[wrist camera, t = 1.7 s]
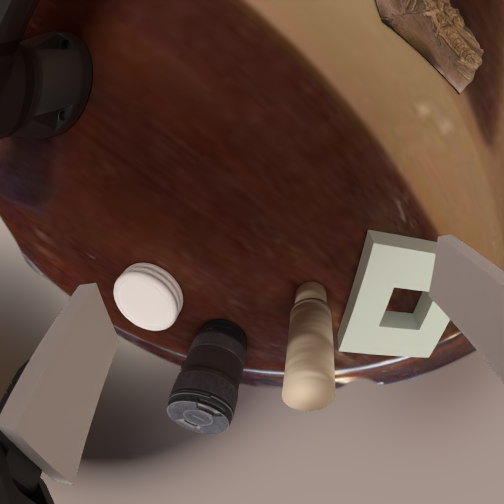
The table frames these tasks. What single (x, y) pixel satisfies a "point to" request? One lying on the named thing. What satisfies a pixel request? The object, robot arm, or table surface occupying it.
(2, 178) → the table surface
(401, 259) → the board
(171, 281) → the coaster
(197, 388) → the camera lens
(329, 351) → the leg
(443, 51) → the wooden fragment
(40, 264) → the table surface
